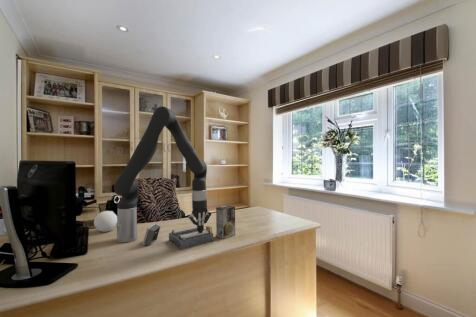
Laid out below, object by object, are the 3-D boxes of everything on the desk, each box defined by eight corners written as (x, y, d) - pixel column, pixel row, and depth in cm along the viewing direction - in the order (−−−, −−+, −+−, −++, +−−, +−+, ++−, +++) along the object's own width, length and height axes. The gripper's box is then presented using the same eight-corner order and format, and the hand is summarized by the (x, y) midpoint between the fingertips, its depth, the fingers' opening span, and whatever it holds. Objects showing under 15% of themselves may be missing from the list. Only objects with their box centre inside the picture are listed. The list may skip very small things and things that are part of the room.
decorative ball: (121, 230, 138) (121, 210, 138) (99, 236, 128) (99, 214, 128) (111, 226, 145) (111, 207, 145) (90, 231, 135) (90, 211, 135)
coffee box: (228, 232, 134) (227, 204, 134) (235, 235, 129) (235, 206, 129) (215, 236, 127) (215, 207, 127) (223, 239, 123) (223, 209, 123)
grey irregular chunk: (150, 239, 123) (151, 222, 123) (159, 240, 123) (161, 223, 122) (141, 246, 114) (143, 227, 113) (152, 247, 113) (153, 228, 113)
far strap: (174, 234, 118) (174, 232, 118) (172, 233, 120) (172, 230, 120) (200, 229, 127) (200, 227, 127) (198, 227, 129) (198, 225, 129)
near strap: (182, 239, 111) (182, 237, 111) (179, 237, 113) (179, 235, 113) (208, 233, 120) (208, 231, 120) (205, 231, 122) (205, 229, 122)
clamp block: (180, 249, 109) (180, 235, 109) (168, 240, 121) (168, 227, 121) (213, 241, 120) (213, 227, 120) (199, 233, 132) (199, 221, 132)
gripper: (190, 201, 111) (191, 237, 111) (214, 198, 119) (215, 231, 119) (184, 199, 117) (185, 233, 117) (207, 196, 125) (208, 227, 125)
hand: (200, 232), depth 118 cm, fingers closed
